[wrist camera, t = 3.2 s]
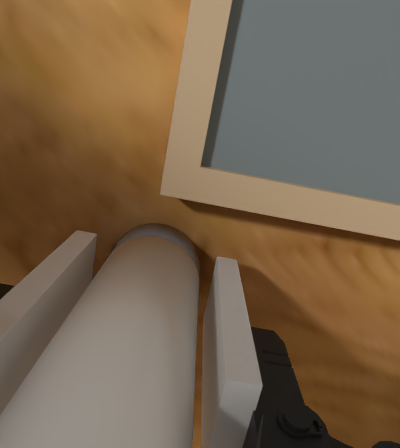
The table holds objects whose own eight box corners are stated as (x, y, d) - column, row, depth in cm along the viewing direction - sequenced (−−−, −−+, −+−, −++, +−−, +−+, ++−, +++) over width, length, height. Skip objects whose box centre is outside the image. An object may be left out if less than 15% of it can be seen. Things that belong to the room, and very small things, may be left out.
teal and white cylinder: (104, 297, 15) (-254, 949, 3) (115, 213, 14) (-361, 738, 2) (193, 313, 15) (147, 990, 4) (210, 230, 14) (229, 810, 2)
